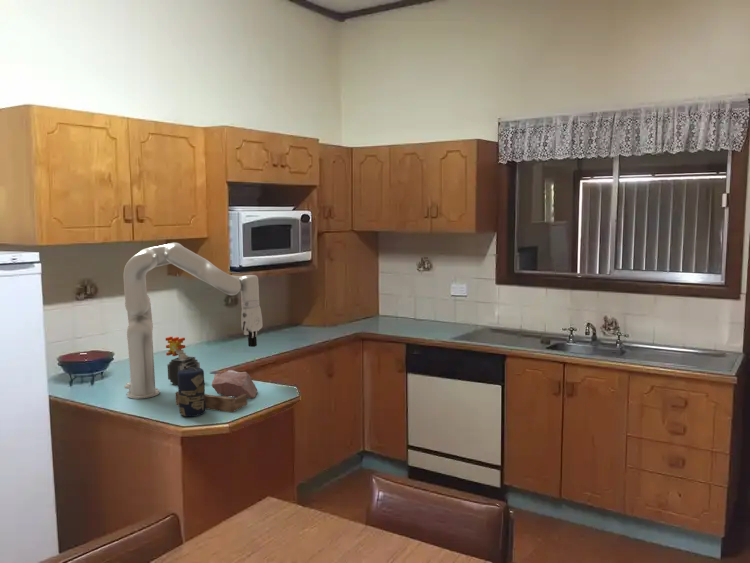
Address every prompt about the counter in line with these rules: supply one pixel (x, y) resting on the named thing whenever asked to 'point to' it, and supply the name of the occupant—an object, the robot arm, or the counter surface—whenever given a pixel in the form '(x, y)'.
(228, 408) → the stop cradle
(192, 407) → the canister
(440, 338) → the counter surface
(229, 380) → the stone
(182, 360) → the bomb
